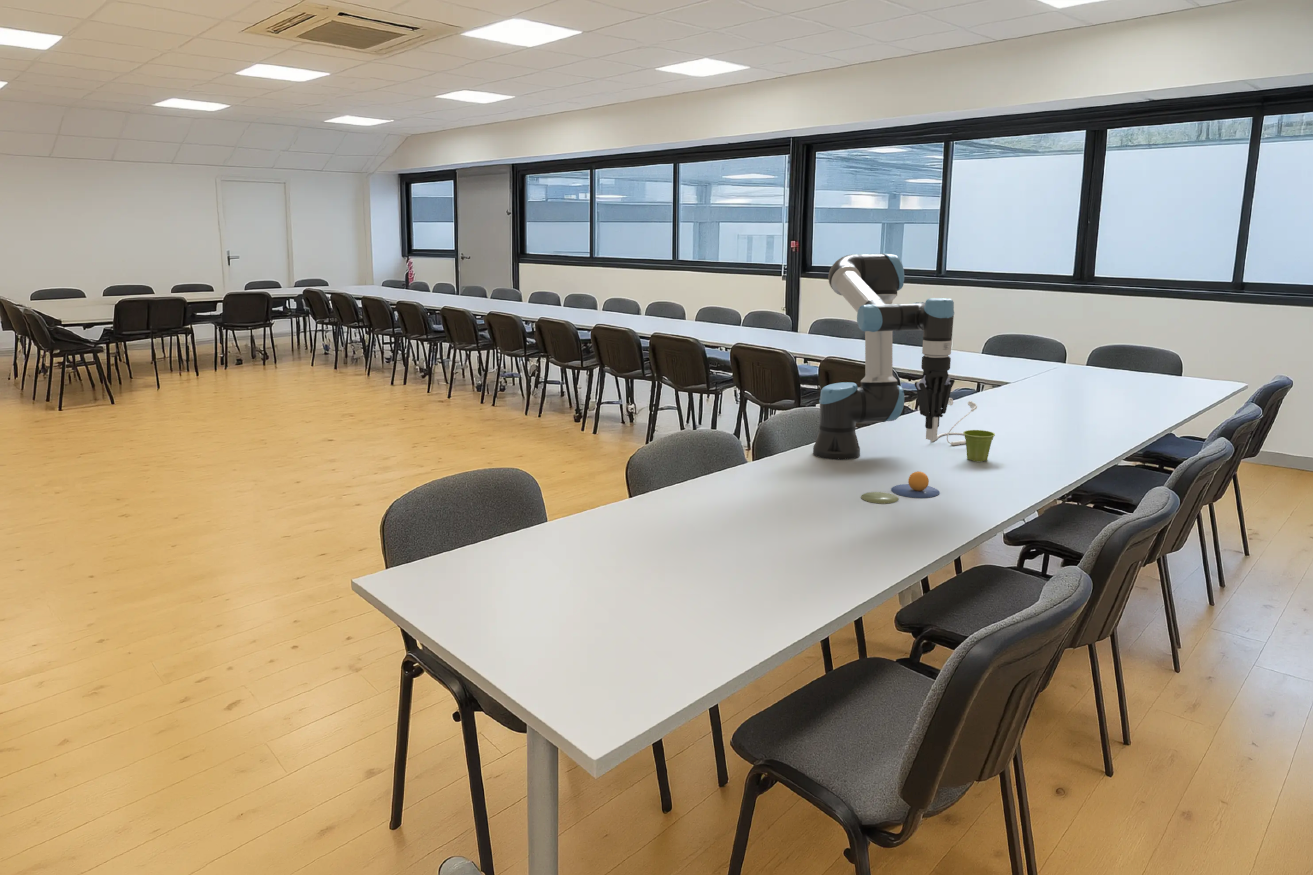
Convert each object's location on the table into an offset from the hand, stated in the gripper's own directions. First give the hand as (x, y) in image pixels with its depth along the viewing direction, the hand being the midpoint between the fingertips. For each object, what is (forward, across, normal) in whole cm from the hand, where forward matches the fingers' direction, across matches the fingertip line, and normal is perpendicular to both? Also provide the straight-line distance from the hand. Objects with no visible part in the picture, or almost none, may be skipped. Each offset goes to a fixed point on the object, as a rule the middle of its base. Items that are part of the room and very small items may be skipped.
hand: (931, 439), depth 239 cm
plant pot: (+15, +37, +16) cm, 43 cm away
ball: (+12, -4, 0) cm, 12 cm away
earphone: (+15, +51, +39) cm, 66 cm away
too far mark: (+14, -18, 0) cm, 23 cm away
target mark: (+14, -5, 0) cm, 15 cm away
